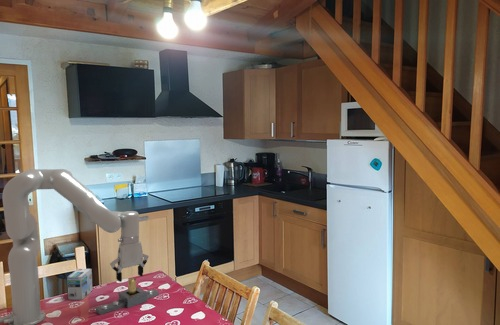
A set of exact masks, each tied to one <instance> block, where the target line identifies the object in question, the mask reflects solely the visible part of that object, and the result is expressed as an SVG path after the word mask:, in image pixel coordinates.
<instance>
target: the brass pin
mask: <svg viewBox="0 0 500 325" xmlns="http://www.w3.org/2000/svg"><path fill="white" fill-rule="evenodd" d="M127 282H128V283H127V284H128V287H127V288H128V289H127V290H129V295H130V296H131V295H134V294H136V287H137V279H136V278H135V277H130V278H128V279H127Z"/></svg>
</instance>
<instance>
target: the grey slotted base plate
mask: <svg viewBox="0 0 500 325" xmlns="http://www.w3.org/2000/svg"><path fill="white" fill-rule="evenodd" d="M159 293H160V292H159V291H158V290H157V289H155V288H153V289H148V290H143V289H142V288H140V287H139V286H136V294H134V295H131V296H130V295H129V290H128V289H125V290H123V291H120V292H118V300H114V301H112V302H109V303H107V304H102V305H100V306H97V307H95V312H96V313H97V314H98V315H99V316H101V315H105V314H107V313H109V312H112V311H116V310H119V309H121V308H125V307H126V309H130V308H132V307H135V306H137V305H141V304H143V303H147V302H148V299H152V298H154V297H157V296H159V295H160V294H159Z"/></svg>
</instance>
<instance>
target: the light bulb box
mask: <svg viewBox="0 0 500 325" xmlns="http://www.w3.org/2000/svg"><path fill="white" fill-rule="evenodd" d="M66 279H67V291H68V292H67V293H68V294H67V295H68V300H74V301H77V300H79V301H80V300H81V301H82V300H84V299H85V298H86V297H87V296H88V295H89V294H91V293H92V292H93V291H92V290H93V272H92V268H78V269H76V270H74V271H73V272H72V273H70V274H69V275H67V278H66ZM91 291H92V292H91Z"/></svg>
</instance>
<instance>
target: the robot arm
mask: <svg viewBox="0 0 500 325" xmlns="http://www.w3.org/2000/svg"><path fill="white" fill-rule="evenodd" d="M37 190H38V191H39V190H54V191H55V192H57V193H58V194H59V195H60V196H61V197H63V198H64V199H66V201H68V202H69V203H70V204H72V205H73V206H74V207H76V208H77V209H78V210H79V212H81V213H82V214H83V215H85V217H87V218H88V219H89V220H90V221H92V222H93V223H94V224H95V225H97V226H98V227H99V228H101V229H102V230H103V231H105V232H107V233H110V234H113V233H115V232H116V233H117V232H118V231H119V230H120V238H118V239H117V242H118V243H119V244H118V250H117V257H116V258H115V259H114V260H113V261H111V262H110V263H109V265H110V267H111V269H112V270H113V271H115V276H116V277H115V278H116V280H117V281H118V282H119V283H121V282H122V281H123V276H122V275H123V273H122V270H123V269H126V268H132V267H136V266H137V275H138V276H140V277H143V275H144V267H145V265H146V263H148V260H149V258H150V256H149V255H148V254H145V253H143V247H142V246H143V245H142V242H141V241H140V234H139V233H140V214H139V212H138V211H135V210H127V211H126V210H125V211H117V210H115V211H114V210H110V209H109V208H108V207H106V205H104V204H103V203H102V202H101V201H100V200H99V199H98V197H97V196H96V195H95V193H94V192H93V191H92V190H90V188H88V187H87V186H85V185H84V184H83V183H82V182H81V181H79V180H78V179H77V178H76V177H74V176H73V174H72V173H71V171H69V170H67V169H63V168H62V169H61V168H59V169H58V168H57V169H50V168H49V169H28V170H25V171H22V172H21V173H18V174H17V175H15V176H14V177H12V178H11V179H10V180H8V181H7V183H6V184H5V186H4V187H3V190H2V195H1V196H2V198H1V199H2V205H3V206H2V207H3V214H4V223H5V232H6V234H7V236H8V237H9V238H10V239H11V241H12V247H11V249H10V251H9V253H8V257H7V264H8V271H9V278H10V292H11V308H12V310H10V313H8V314H7V315H6V316H2V317H0V324H2V323H3V324H7V323H8V325H38V324H39V323H41V322H42V321H43V320H45V318H46V313H45V312H44V311H43V310H41V307H42V306H41V295H40V294H41V293H40V291H41V290H40V279H39V278H40V277H39V268H38V256H39V253H40V250H41V245H40V238H39V237H40V236H39V229H38V224H37V223H38V222H37V219H36V217H35V216H34V215H33V214H32V213H31V210H30V203H29V196H30V194H31V193H34V192H35V191H37ZM116 264H117V266H116Z"/></svg>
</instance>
